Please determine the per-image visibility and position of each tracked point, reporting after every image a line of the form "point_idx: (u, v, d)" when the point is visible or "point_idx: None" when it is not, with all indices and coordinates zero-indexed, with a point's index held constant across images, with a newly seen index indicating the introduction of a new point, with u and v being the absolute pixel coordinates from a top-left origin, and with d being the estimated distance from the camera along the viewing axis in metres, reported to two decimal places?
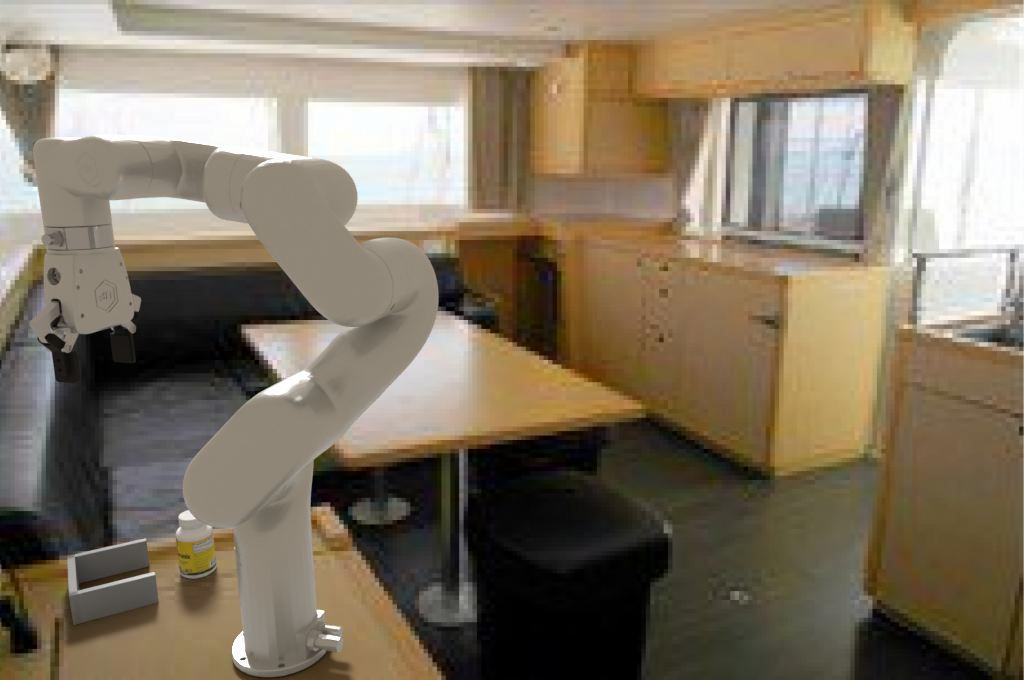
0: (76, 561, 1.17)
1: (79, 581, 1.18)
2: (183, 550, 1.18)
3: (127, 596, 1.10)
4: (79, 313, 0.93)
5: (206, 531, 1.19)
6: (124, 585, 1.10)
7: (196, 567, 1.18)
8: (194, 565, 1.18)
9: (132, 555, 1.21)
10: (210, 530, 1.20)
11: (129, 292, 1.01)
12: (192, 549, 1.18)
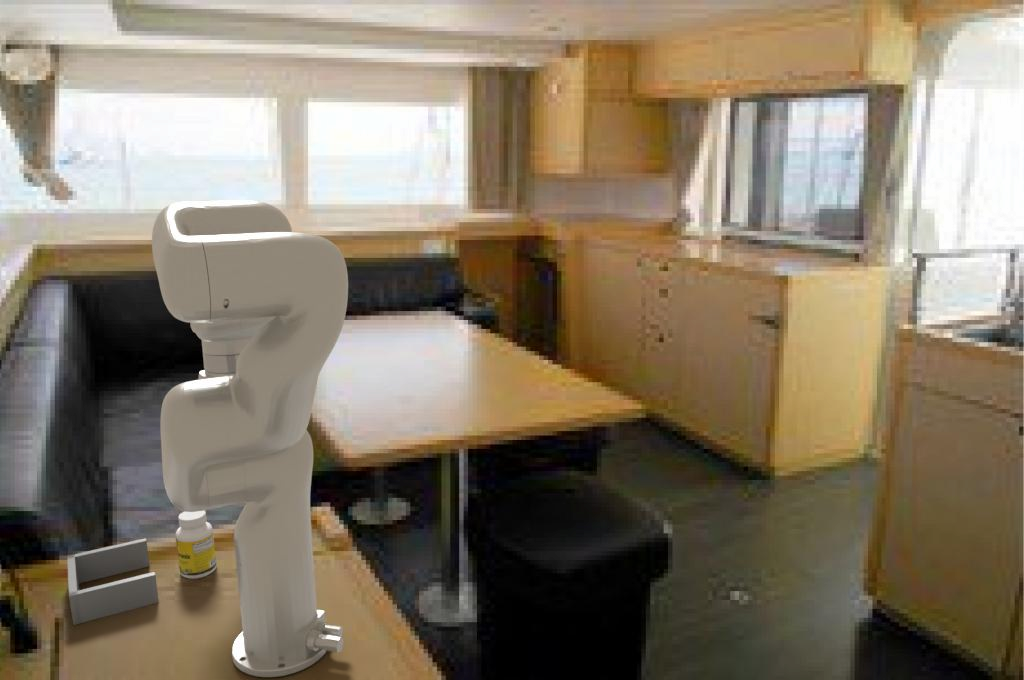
0: (76, 561, 1.17)
1: (79, 581, 1.18)
2: (183, 550, 1.18)
3: (127, 596, 1.10)
4: None
5: (206, 531, 1.19)
6: (124, 585, 1.10)
7: (196, 567, 1.18)
8: (194, 565, 1.18)
9: (132, 555, 1.21)
10: (210, 530, 1.20)
11: None
12: (192, 549, 1.18)
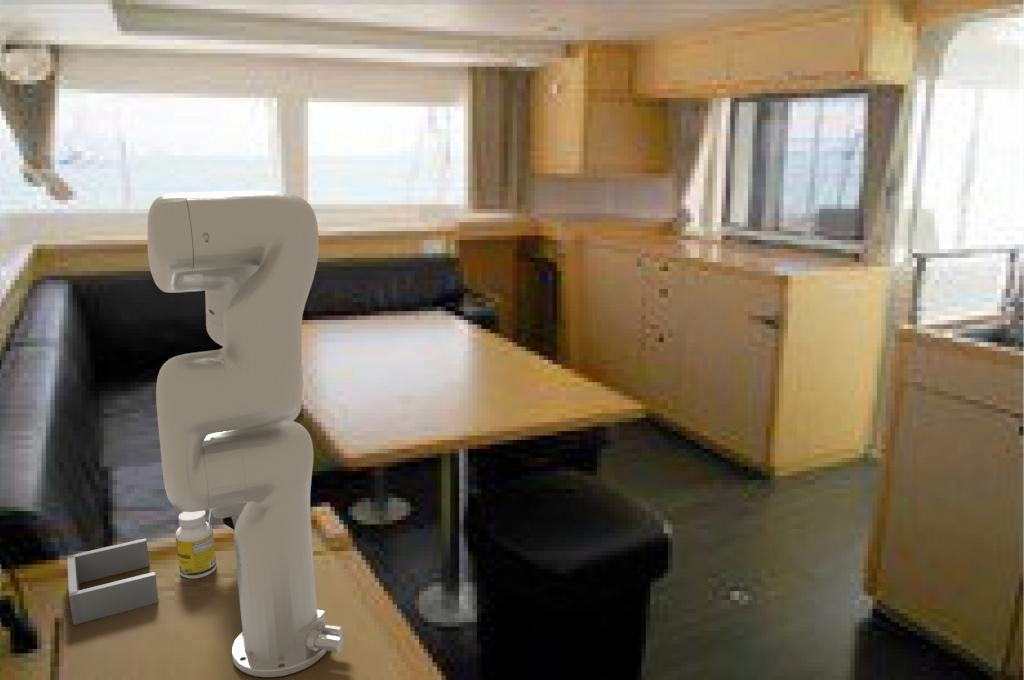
0: (76, 561, 1.17)
1: (79, 581, 1.18)
2: (183, 550, 1.18)
3: (127, 596, 1.10)
4: None
5: (206, 531, 1.19)
6: (124, 585, 1.10)
7: (196, 567, 1.18)
8: (194, 565, 1.18)
9: (132, 555, 1.21)
10: (210, 530, 1.20)
11: None
12: (193, 549, 1.18)
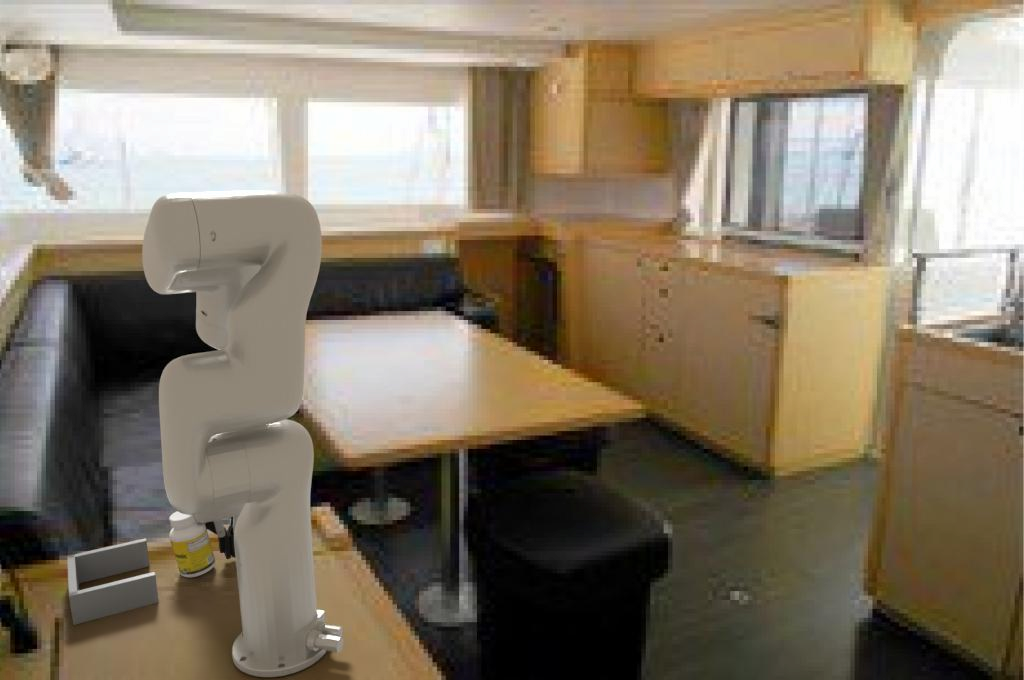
0: (76, 561, 1.17)
1: (79, 581, 1.18)
2: (178, 551, 1.17)
3: (127, 596, 1.10)
4: None
5: (199, 529, 1.18)
6: (124, 585, 1.10)
7: (194, 565, 1.18)
8: (192, 564, 1.18)
9: (132, 555, 1.21)
10: (203, 527, 1.19)
11: None
12: (187, 548, 1.17)
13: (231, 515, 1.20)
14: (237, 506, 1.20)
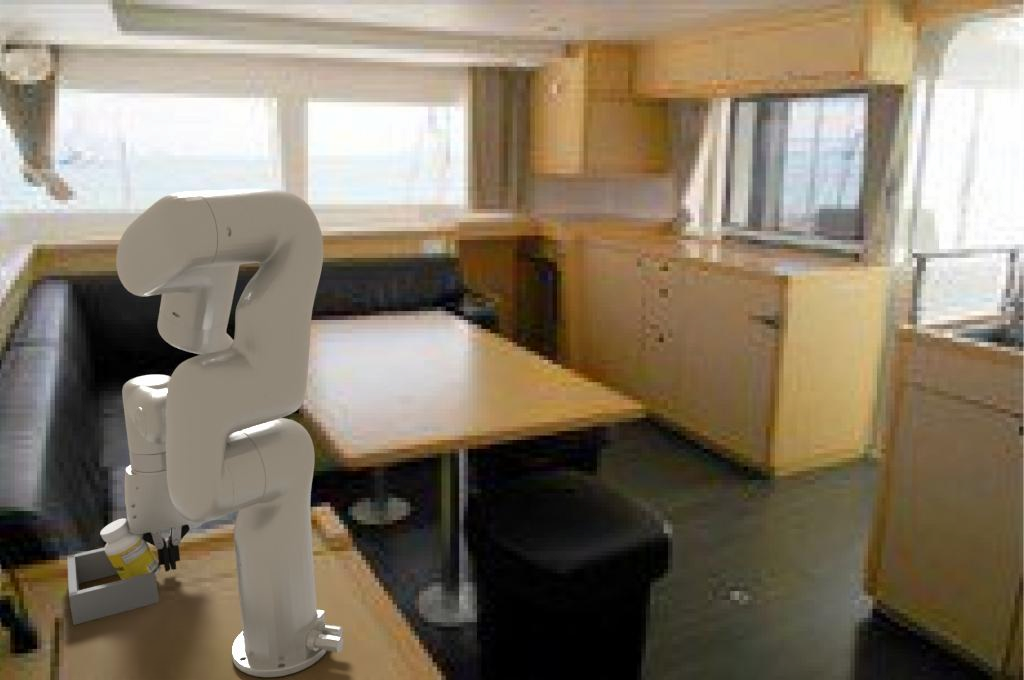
0: (76, 561, 1.17)
1: (79, 581, 1.18)
2: (114, 564, 1.14)
3: (127, 596, 1.10)
4: None
5: (131, 539, 1.14)
6: (124, 585, 1.10)
7: (133, 576, 1.14)
8: (131, 575, 1.14)
9: None
10: (136, 536, 1.15)
11: None
12: (123, 560, 1.13)
13: (169, 526, 1.16)
14: (176, 517, 1.16)
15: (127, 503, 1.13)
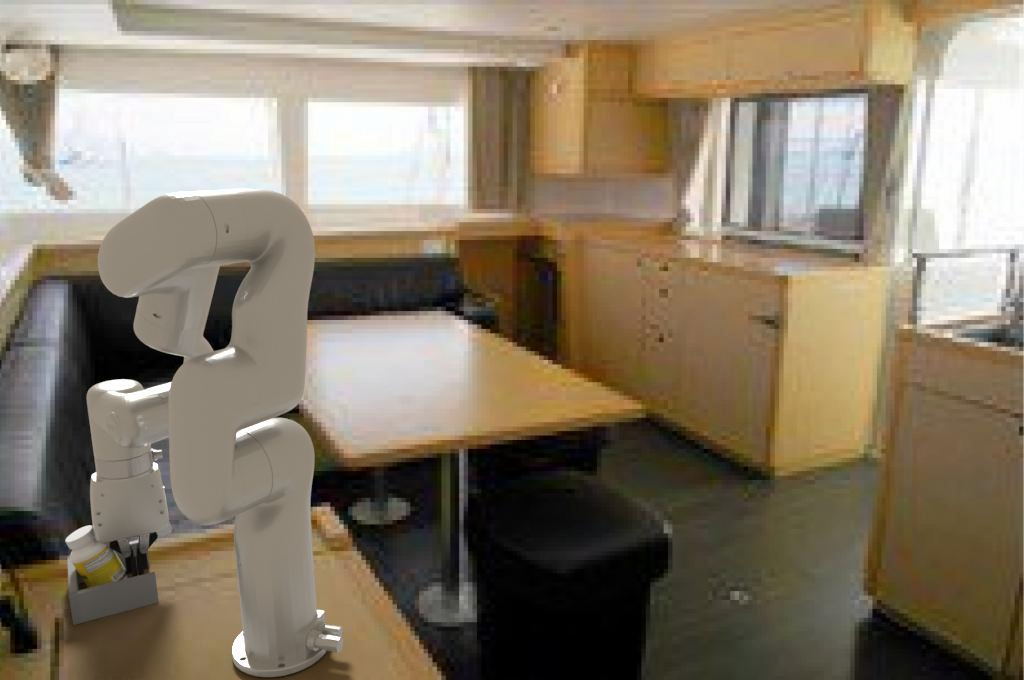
0: None
1: (79, 581, 1.18)
2: (78, 571, 1.12)
3: (127, 596, 1.10)
4: None
5: (95, 548, 1.12)
6: (124, 585, 1.10)
7: (97, 585, 1.12)
8: (95, 584, 1.12)
9: None
10: (100, 545, 1.12)
11: None
12: (86, 569, 1.11)
13: (136, 534, 1.14)
14: (143, 524, 1.14)
15: (92, 511, 1.11)
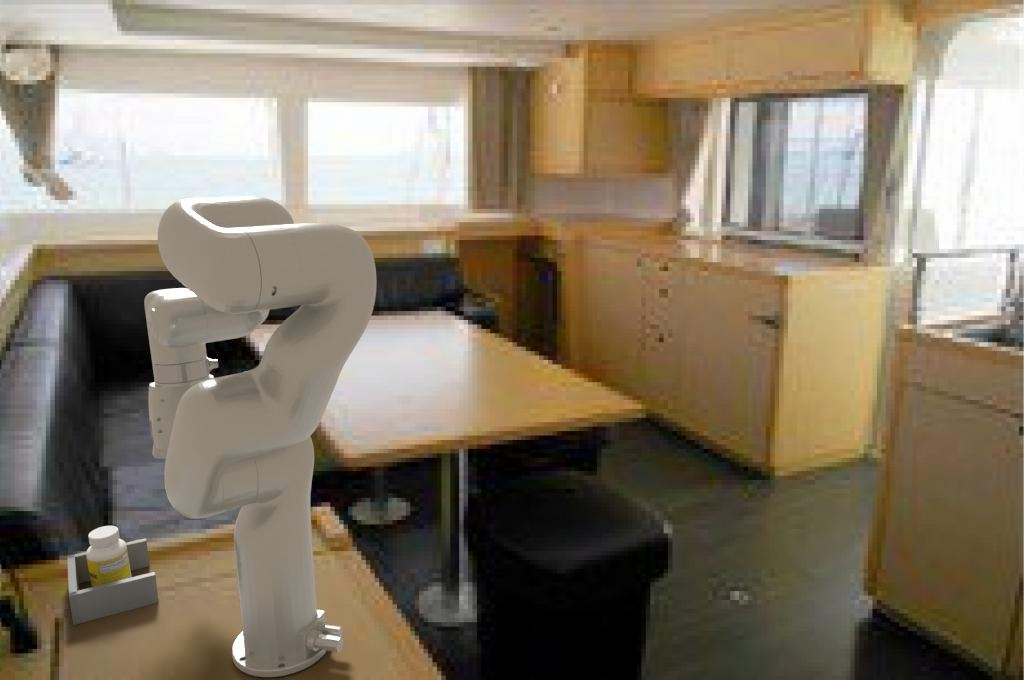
0: (76, 561, 1.17)
1: (79, 581, 1.18)
2: (90, 569, 1.12)
3: (127, 596, 1.10)
4: None
5: (114, 551, 1.13)
6: (124, 585, 1.10)
7: None
8: None
9: (132, 555, 1.21)
10: (120, 550, 1.13)
11: None
12: (99, 569, 1.12)
13: None
14: None
15: (152, 417, 1.11)
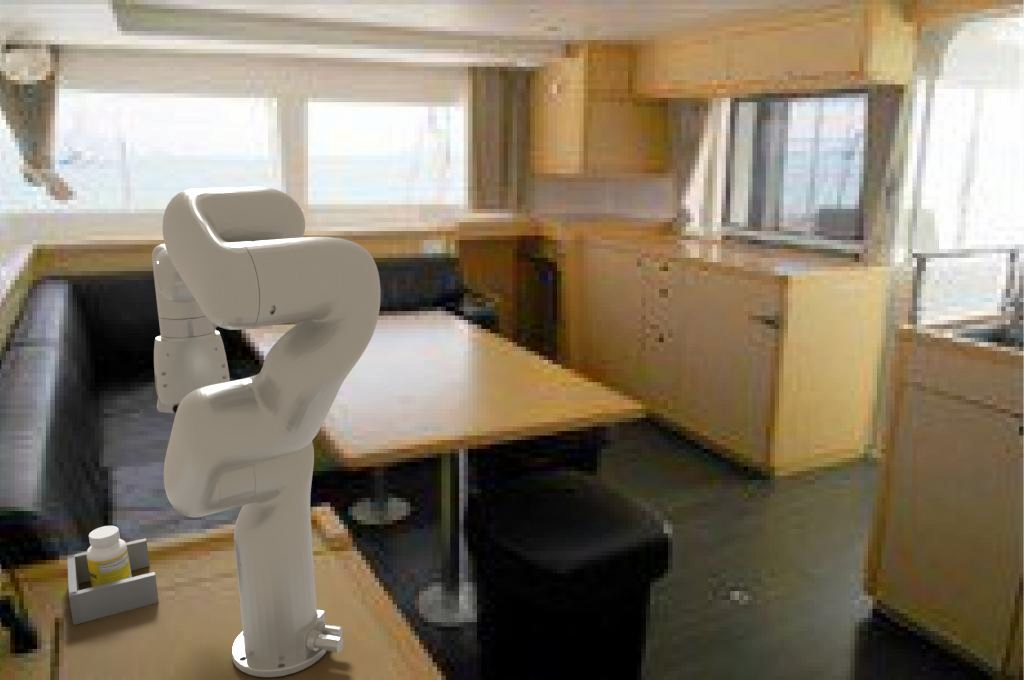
0: (76, 561, 1.17)
1: (79, 581, 1.18)
2: (90, 569, 1.12)
3: (127, 596, 1.10)
4: None
5: (114, 552, 1.13)
6: (124, 585, 1.10)
7: None
8: None
9: (132, 555, 1.21)
10: (120, 550, 1.13)
11: None
12: (98, 569, 1.12)
13: None
14: None
15: (157, 371, 1.11)
